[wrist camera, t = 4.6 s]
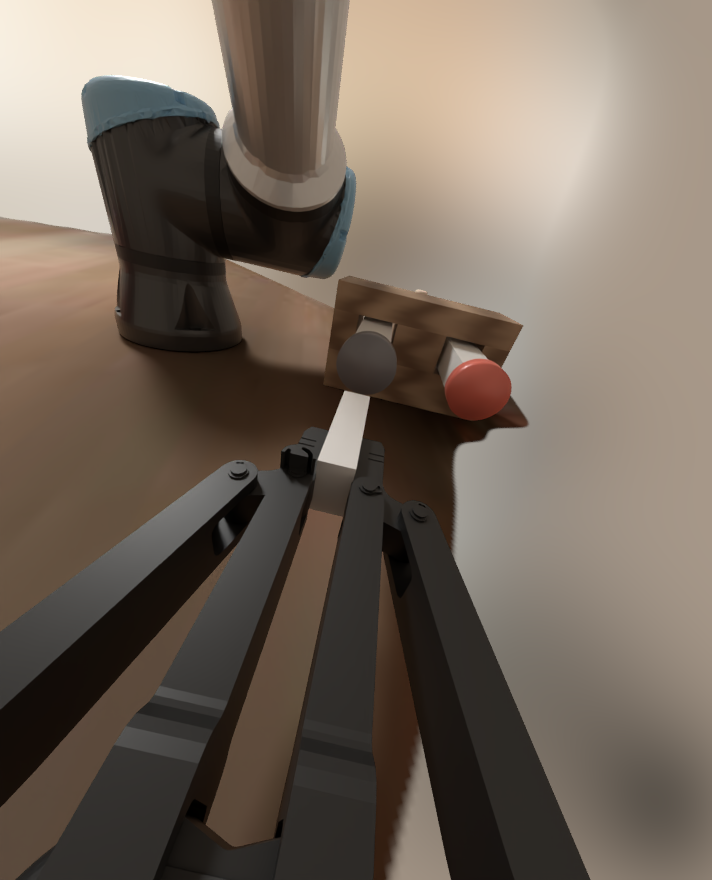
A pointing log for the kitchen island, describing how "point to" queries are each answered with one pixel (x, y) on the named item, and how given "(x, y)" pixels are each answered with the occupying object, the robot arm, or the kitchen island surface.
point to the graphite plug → (368, 358)
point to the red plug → (472, 380)
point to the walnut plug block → (415, 337)
